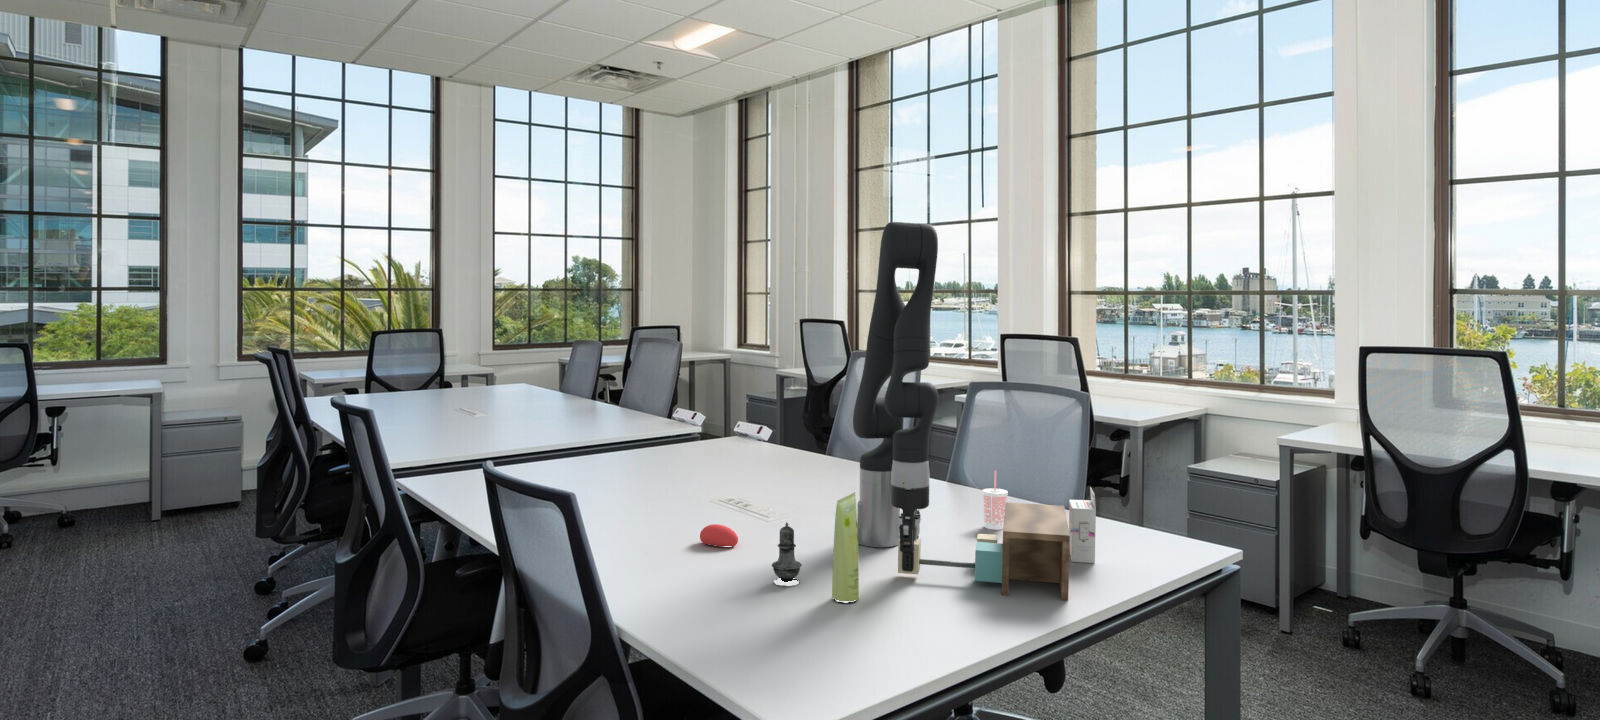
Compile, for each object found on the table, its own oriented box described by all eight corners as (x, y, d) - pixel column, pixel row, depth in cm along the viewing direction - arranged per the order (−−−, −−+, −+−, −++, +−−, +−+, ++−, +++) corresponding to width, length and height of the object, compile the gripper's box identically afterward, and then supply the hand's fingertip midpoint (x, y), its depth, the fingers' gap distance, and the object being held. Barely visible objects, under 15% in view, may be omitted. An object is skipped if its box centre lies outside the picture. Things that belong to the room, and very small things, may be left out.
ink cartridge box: (1067, 551, 195) (1068, 485, 194) (1090, 552, 194) (1092, 486, 193) (1070, 562, 187) (1072, 493, 186) (1095, 563, 186) (1097, 494, 185)
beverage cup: (1010, 526, 216) (1011, 469, 215) (1002, 531, 211) (1003, 474, 210) (986, 522, 219) (987, 467, 219) (977, 528, 214) (979, 471, 213)
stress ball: (717, 558, 193) (732, 533, 193) (690, 537, 198) (704, 513, 198) (730, 560, 198) (744, 536, 198) (703, 540, 203) (717, 516, 203)
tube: (863, 604, 160) (864, 498, 159) (836, 606, 159) (837, 499, 158) (854, 594, 166) (855, 491, 164) (828, 596, 165) (828, 493, 163)
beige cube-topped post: (976, 568, 182) (976, 539, 182) (977, 560, 188) (978, 532, 187) (1051, 574, 178) (1052, 545, 178) (1050, 565, 184) (1051, 537, 184)
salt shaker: (779, 589, 168) (780, 527, 168) (766, 580, 174) (766, 520, 173) (806, 584, 171) (807, 523, 170) (793, 576, 176) (793, 517, 176)
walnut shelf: (1001, 594, 166) (1002, 531, 165) (1004, 558, 189) (1005, 502, 188) (1068, 600, 163) (1069, 535, 162) (1062, 562, 186) (1064, 505, 185)
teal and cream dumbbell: (897, 574, 173) (897, 544, 173) (900, 565, 179) (901, 536, 179) (1006, 583, 168) (1007, 552, 168) (1006, 573, 174) (1007, 543, 174)
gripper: (896, 474, 182) (894, 555, 183) (886, 489, 168) (885, 576, 170) (932, 476, 180) (931, 558, 182) (925, 491, 167) (924, 579, 168)
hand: (909, 566), depth 176 cm, fingers closed on teal and cream dumbbell, 4 cm apart
